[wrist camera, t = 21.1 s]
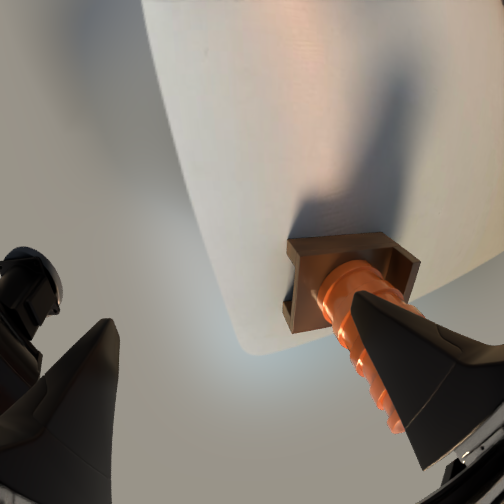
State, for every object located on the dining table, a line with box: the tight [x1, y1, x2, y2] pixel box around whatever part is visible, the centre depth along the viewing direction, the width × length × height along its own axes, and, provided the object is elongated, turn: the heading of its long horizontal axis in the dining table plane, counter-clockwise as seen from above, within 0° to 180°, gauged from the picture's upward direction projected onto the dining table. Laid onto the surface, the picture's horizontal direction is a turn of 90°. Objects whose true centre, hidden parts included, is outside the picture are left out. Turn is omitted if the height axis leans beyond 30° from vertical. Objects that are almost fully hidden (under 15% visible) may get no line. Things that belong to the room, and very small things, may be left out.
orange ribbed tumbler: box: [317, 260, 426, 434], centre depth 17 cm, size 6×6×13 cm
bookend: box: [282, 232, 421, 334], centre depth 23 cm, size 10×8×6 cm
